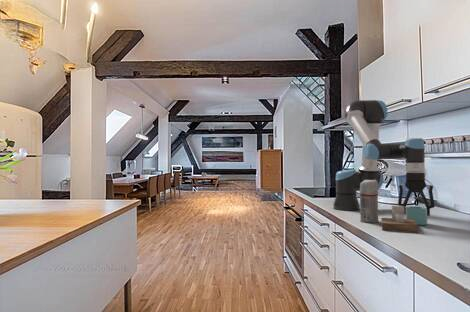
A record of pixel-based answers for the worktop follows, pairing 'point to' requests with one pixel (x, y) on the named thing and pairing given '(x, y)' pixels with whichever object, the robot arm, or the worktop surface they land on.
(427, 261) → the worktop surface
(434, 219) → the worktop surface
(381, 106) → the robot arm
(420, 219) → the teal shadow box frame
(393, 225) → the brown square board
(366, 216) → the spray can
